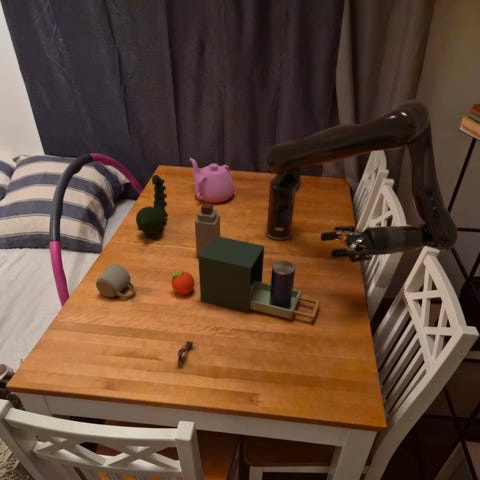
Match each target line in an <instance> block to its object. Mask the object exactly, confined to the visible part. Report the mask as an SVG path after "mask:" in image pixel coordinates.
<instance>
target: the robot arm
mask: <svg viewBox="0 0 480 480" xmlns="http://www.w3.org/2000/svg"><path fill="white" fill-rule="evenodd" d="M432 135H433V131H432V121H431V114H430V110H429V108H428V106H427V105H426V104H425V102H423V101H421V100H419V99H409V100H406V101H404V102H402V103H401V104H399V105H398V106H397V107H396V108H395V107H394V109H393V110H391V111H390V112H388V113H386V114H384V115H382V116H380V117H377V118H374V119H372V120H370V121H367V122H365V123H358V124H357V123H342V124H338V125H335V126H331V127H328V128H325V129H322V130H320V131H317V132H315V133H313V134H310V135H308V136H307V137H305V138H302V139H301V140H298V141H296V140H292V139H291V140H286V141H282V142H279V143H277V144H275V145H273V146H272V147H270V148H269V150H267V153H266V155H265V164H266V167H267V168H268V170H269V171H270V172H272V173H273V174H275V176H274V177H273V178H272V179H271V180H270V182H269V191H268V203H267V204H268V206H267V219H266V220H267V221H266V230H265V234H266V237H268V238H269V239H271V240H274V241H285V240H288V239H290V238H291V236H292V227H293V219H294V211H295V203H296V194H297V191H298V189H299V187H300V184H301V175H302V169H303V167H309V166H316V165H323V164H324V165H325V164H329V163H334V162H338V161H343V160H346V159H350V158H353V157H354V158H355V157H358V156H360V155H364V154H367V153H373V152H380V151H390V150H397V149H403V148H405V147H407V150H408V155H409V161H410V163H409V164H410V194H411V198H412V202H413V205H414V208H415V212H416V215H417V217H418V219H420V220H421V221H423V222H422V223H418V224H414V225H397V226H396V225H386V226H384V225H383V226H373V227H366V228H365V229H364V230H363V231H361V232H359V231H356V226H354V225H349V226H348V225H346V226H334V229H333V231H328V232H322V233H321V234H320V240H321V241H322V242H328V241H330V242H331V241H338V242H340V243H341V244H343V245H345V246H347V248H344V247H341V248H335V249H334V248H333V249H332V250H331V252H330V257H331V258H332V259H334V258H335V259H338V258H339V259H340V258H345V259H349V260H350V262H351V263H357V262H365V261H372V258H373V256H382V255H391V254H393V255H394V254H397V253H405V252H406V253H407V252H414V251H416V250H417V251H418V250H419V249H420V248H431V249H434V250H437V251H440V252H443V251H444V252H445V251H449V250H452V249H453V248H454V247H455V246H456V244H457V242H458V239H459V232H458V227H457V225H456V223H455V220H454V219H453V217H452V215H451V214H450V212H449V210H448V209H447V207H446V205H445V200H444V196H443V192H442V189H441V186H440V182H439V177H438V172H437V168H436V167H437V166H436V160H435V159H436V158H435V153H434V143H433V136H432ZM425 246H427V247H425Z"/></svg>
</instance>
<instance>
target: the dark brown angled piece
mask: <svg viewBox="0 0 480 480" xmlns="http://www.w3.org/2000/svg"><path fill="white" fill-rule="evenodd" d="M193 347H194V341H191V340H186V342H185V345H184V346H183V347H181V348H179V350H177V353H176V354H177V356H178V360H177V367H181V365H182V363H184V362H185V360H186V357H185V356H183V354H184V353H186V352H187V351H188V349H193Z"/></svg>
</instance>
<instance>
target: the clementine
mask: <svg viewBox="0 0 480 480" xmlns="http://www.w3.org/2000/svg"><path fill="white" fill-rule="evenodd" d="M170 279H171V287H172V289H173V290H174V292H176V293H177V294H179V295H185V294H189V293H191V292H192V291H193V289H194V288H195V287H194V286H195V278H194V276H193V275H192V274H191V273H190V272H188V271H186V270H185V271H184V270H182V271H178V272H176V273H173V274H172V275H170V277H169V278H168V279H167V281H169V280H170Z"/></svg>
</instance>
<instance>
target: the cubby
mask: <svg viewBox="0 0 480 480" xmlns="http://www.w3.org/2000/svg"><path fill="white" fill-rule="evenodd" d="M264 256H265V245H262V244H258V243H252V242H248V241H245V240H244V241H243V240H239V239H233V238H229V237H225V236H221V235H220V236H214V238H213V239H212V240H211V241H210V242H209V244H208V245H207V246H206V247H205V249H204V250H203V251H202V252H201V253H200V255H199V256H198V258H197V259H198V261H197V262H198V273H199V274H198V277H199V278H198V279H199V292H200V294H199V295H200V302H203V303H207V304H211V305H215V306H218V307H223V308H226V309H231V310H235V311H237V312H242V313H246V314H250V312H251V310H252V309H250V291H251V284H252V282H253V281H254V280H255V281H260V282H263V271H264V259H265V257H264Z"/></svg>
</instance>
